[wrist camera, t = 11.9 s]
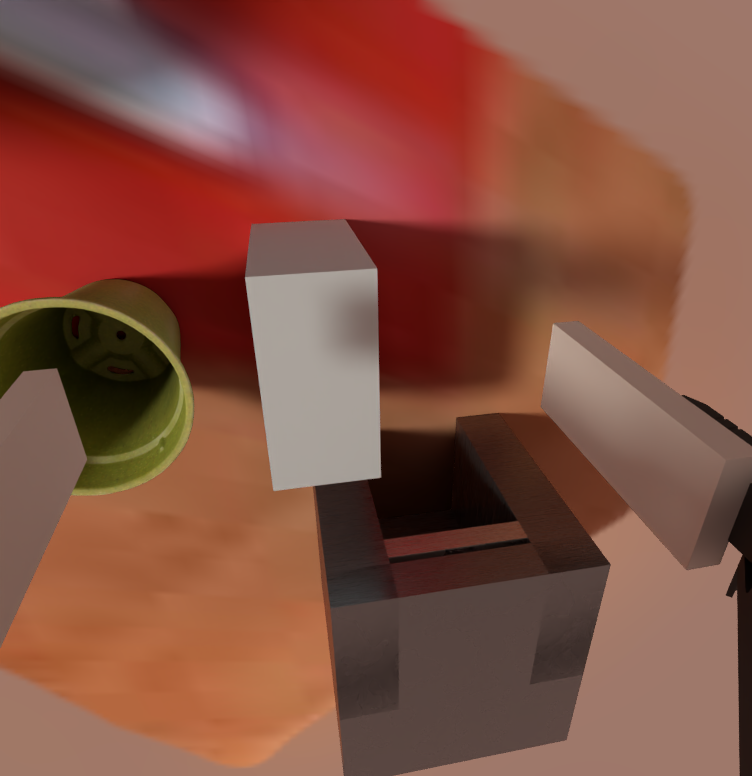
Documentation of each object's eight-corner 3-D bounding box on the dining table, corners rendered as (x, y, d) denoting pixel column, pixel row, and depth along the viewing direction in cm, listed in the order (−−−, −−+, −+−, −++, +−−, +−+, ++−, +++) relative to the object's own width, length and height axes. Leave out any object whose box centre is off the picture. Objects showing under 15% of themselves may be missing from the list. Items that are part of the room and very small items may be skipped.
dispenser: (308, 433, 36) (330, 608, 23) (498, 413, 37) (610, 564, 25) (322, 587, 42) (344, 785, 30) (483, 562, 44) (566, 740, 32)
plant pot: (22, 230, 27) (-72, 281, 20) (218, 261, 30) (201, 318, 22) (33, 394, 31) (-42, 489, 24) (204, 410, 34) (186, 502, 26)
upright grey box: (251, 224, 29) (244, 277, 20) (344, 219, 30) (377, 268, 21) (271, 389, 34) (273, 490, 25) (352, 382, 34) (380, 477, 26)
